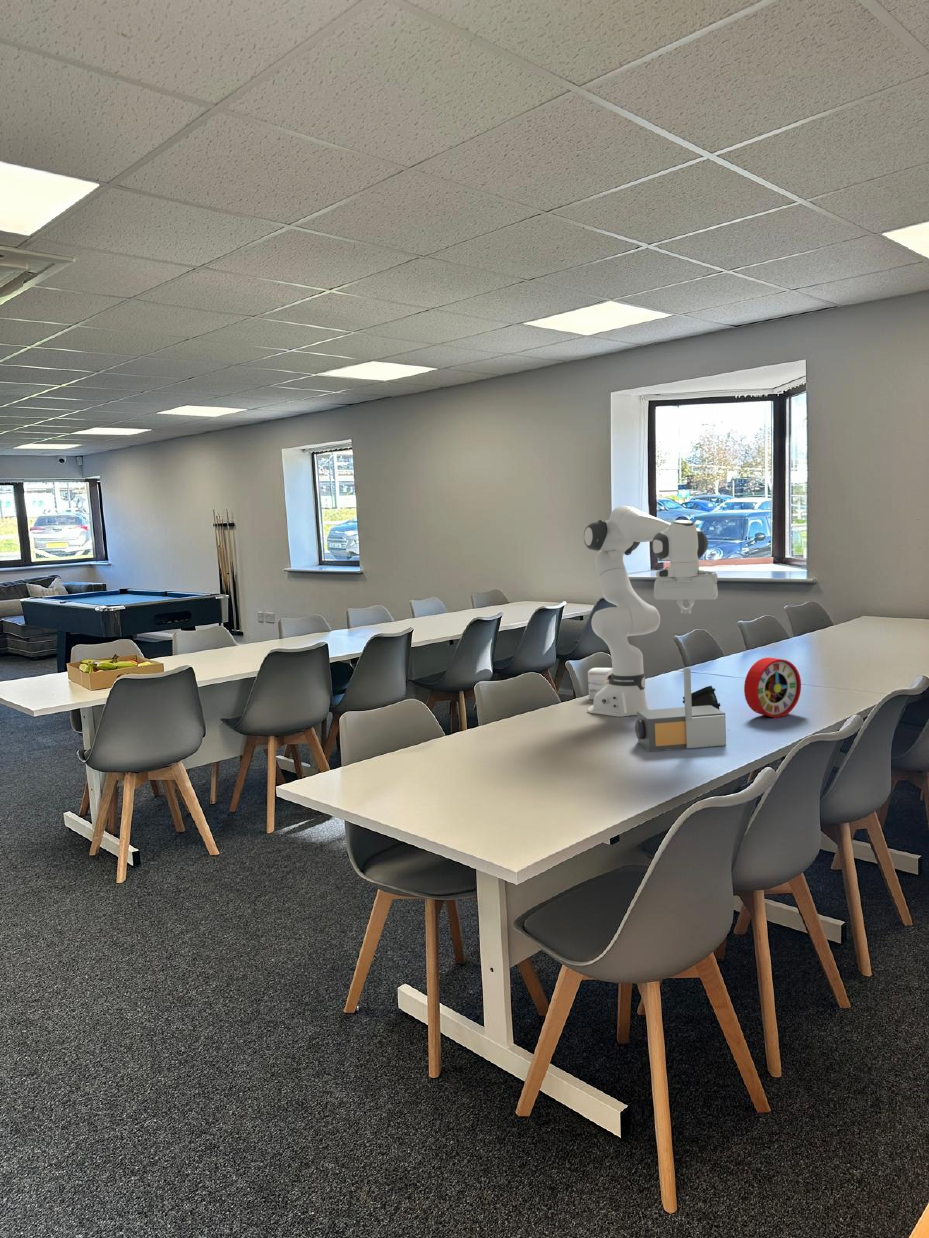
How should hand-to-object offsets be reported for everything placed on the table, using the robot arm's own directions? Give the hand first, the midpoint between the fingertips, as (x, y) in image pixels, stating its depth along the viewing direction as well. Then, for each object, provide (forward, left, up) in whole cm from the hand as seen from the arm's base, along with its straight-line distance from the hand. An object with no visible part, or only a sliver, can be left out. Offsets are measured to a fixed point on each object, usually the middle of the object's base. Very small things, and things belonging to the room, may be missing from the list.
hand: (686, 613), depth 273 cm
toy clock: (+19, +31, -39) cm, 54 cm away
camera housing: (+2, -15, -39) cm, 42 cm away
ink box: (-50, +42, -39) cm, 76 cm away
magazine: (+3, +4, -39) cm, 40 cm away
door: (+11, -17, -39) cm, 43 cm away
